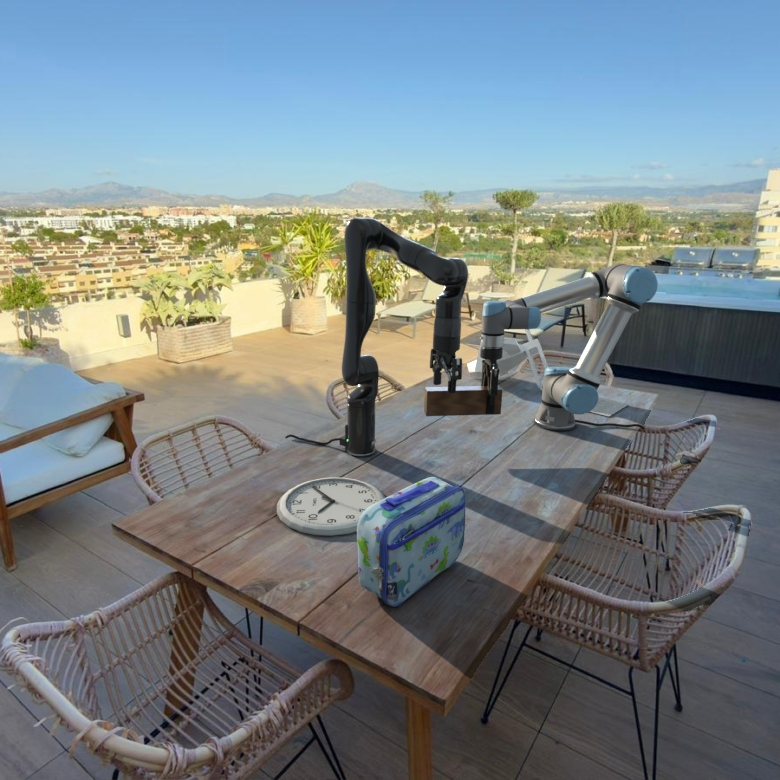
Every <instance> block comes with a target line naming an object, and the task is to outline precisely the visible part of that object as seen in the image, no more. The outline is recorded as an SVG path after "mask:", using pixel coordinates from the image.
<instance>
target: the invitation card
mask: <svg viewBox="0 0 780 780" xmlns="http://www.w3.org/2000/svg"><path fill="white" fill-rule="evenodd" d="M628 406H629V404H627V403H623V402H618V401H614V400H609V399H605V398H601V397H599V398H598V402H597V404H596V406H595V407H594V408H593V409H592V410H591V411H590V412H589V413H593V414H596V415H600V416H604V417H608V418H609V417H611V416H613V415H614V414H616V413H617V412H619V411H621V410H623V409H624V408H626V407H628Z"/></svg>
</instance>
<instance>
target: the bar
mask: <svg viewBox="0 0 780 780" xmlns="http://www.w3.org/2000/svg"><path fill="white" fill-rule="evenodd" d="M486 395H488V386H481V385H465V386H464V385H463V386H461V385H460V386H459V385H456V392H455V393H451V394H450V393H448V386H425V387H424V401H423V402H424V404H423V406H424V407H423V413H424V414H425V416H426V417H451V416H486V415H487V416H490V415H491V416H492V415H501V414H502V404H503V388H501V386H500V385H498V392H497V396H495V403H494V414H486V401H487V397H486Z"/></svg>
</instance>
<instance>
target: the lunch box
mask: <svg viewBox="0 0 780 780" xmlns="http://www.w3.org/2000/svg"><path fill="white" fill-rule="evenodd" d="M465 528H466V494H465V490H464V489H463V487H461V486H458V485H456V486H454V485H451V484H450V483H448V482H446V481H444V480H442V479H440V478H438V477H436V476H430V477H426V478H424V479H421V480H420V481H417V482H415V483H413V484H411V485H409V486H407V487H405V488H402V489H401V490H399V491H396V492H395V493H393V494H390V495H389V496H387V497H385V499H383V500H381V501H379V502H377V503H375V504H373V505H371V506H369V507H368V508H367V509H366V510H365V511H364V512H363V513H362V515H361V517H360V519H359V522H358V526H357V532H356V549H357V550H356V551H357V552H356V553H357V577H358V583H359V585H360V587H361V588H362V589H364V590H366V591H368V592H370V593H372V594H374V595H375V596H377V598H379V599H381V600H382V602H383V603H384V604H385V605H387V606H390V607H393V608H394V607H398V606H400V605H402V604H403V603H404V602H405V601H406V600H408V599H409V598H410V597H411V596H412V595H414V594H416V592H418V591H419V590H420V589H422V588H423V587H424V586H426V585H427V584H428V583H430V582H431V581H432V579H434V578H435V577H436V576H438V575H439V574H440V573H442V572H444V571H446V570H447V569H449V568H450V567H451V566H452V565H454V563H456V561H457V560H458V558H459V557H460V555H461V553H462V550H463V547H464V542H465V530H466V529H465Z"/></svg>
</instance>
